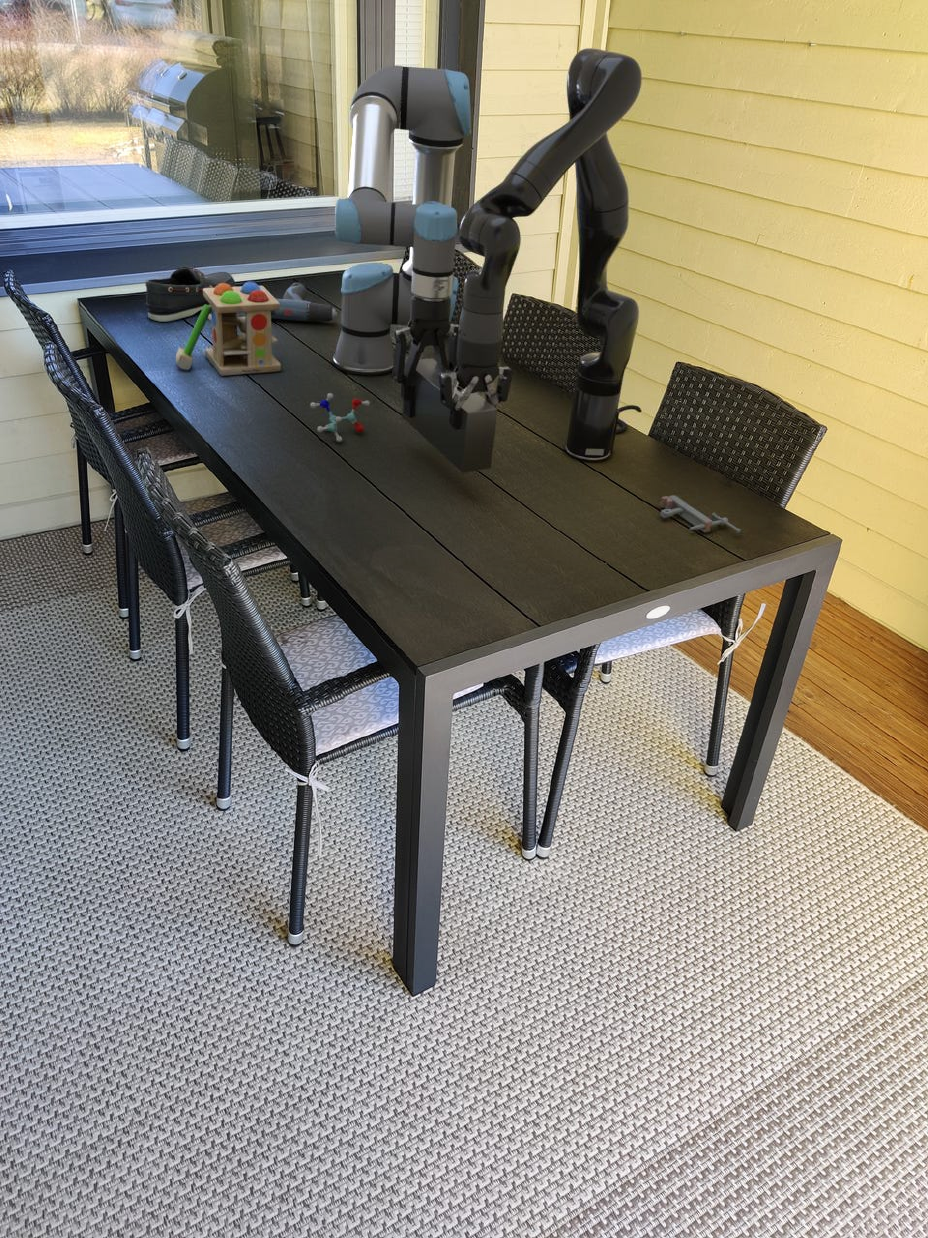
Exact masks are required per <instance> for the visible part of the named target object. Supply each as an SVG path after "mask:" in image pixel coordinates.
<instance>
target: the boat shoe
mask: <svg viewBox="0 0 928 1238" xmlns="http://www.w3.org/2000/svg"><path fill="white" fill-rule="evenodd" d="M221 283H226V284H228V285H230V286H231V287H237V285H236V281H235V279H234V277H233V276H232V274H231V273H229V272H227V271H217V272H213V273H212V272H211V273H207V274H205V273H203V272H202V271H200V270H199V269H198V268H195V267H189V266H186V265H183V266H181V267H178V268H177V269H175V270H174V271H173V272H172V273H171V275H170V276H169V277H165V278H152V279H151V278H150V279H147V280H146V281H145V283H144V285H145V289H146V290H145V291H146V296H145V298H146V302H145V303H144V305H145V306H146V307H147V317H148V319H150V320H152V321H154V322H155V321H156V322H162V323H163V322H173V321H176V320H180V319H183V318H186V317H190V316H193V315H195V314H196V313H198V312H199V311H202V309H203V307H204V305H208V306H210V307H211V305H210V304H209V302H208V301H207V300H206V299H205V297H204V296H203V289H204V288H215V287H216V286H217V285H218V284H221Z"/></svg>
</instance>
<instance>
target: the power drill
mask: <svg viewBox="0 0 928 1238" xmlns="http://www.w3.org/2000/svg"><path fill="white" fill-rule="evenodd" d="M307 295H308V290H307V287H306V285H304V284H303V283H301V282H293V283H292V284H291V285H290V286H289V287H288V288H287V289H286V291H285V292H284V294H283V297H282V298H275V299H276V300H277V301H278V302H279V303H280V310H271V319H274V320H275V319H276V320H283V321H294V322H295V321H297V322H332V321H333V320H334V319H336V318H337V317H338V312H337V311H336V308H334V307H333V306H332V305H331V304H324V303H317V302H313V301H307V300H305V299H306V297H307Z"/></svg>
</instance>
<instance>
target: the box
mask: <svg viewBox="0 0 928 1238" xmlns="http://www.w3.org/2000/svg"><path fill="white" fill-rule="evenodd" d="M405 363H406V360H405ZM440 372H445V373H450V372H449V371H448V370H447V369H445V368H444V367H442V366H441V365H440V364H439V363H437V360H436V359H434V358H432V357H431V358H420V359H419V362H418V365H417V368H416V370H415V374H414V377H413V380H412V384H413V385H414V386H415V391H414V408H413V418H409V417H408V416H407V415H406V414H405V413H404V400H403V399H402V410H401V411H402V412H401V418H402V419H404V421H406V423H408V424H409V425H410V426H411V427H412V428H413V429H414V430H416V431H417V433H419V434H420V435H421V436H422V437H423V438H424V439H425V440H426V441H427V442H428V443H429V444H431V446H433V448H435V449H436V450H437V451H438V452H439V453H440V454H442V455H443V456H444V458H446V459H447V460H448V461H449V462H450V463H451V464H452V465H453V466H454V467H456V469H458V471H460V472H461V473H470V472H471V473H472V472H477V471H483V470H489V469H490V470H491V469H492V460H493V454H494V453H493V452H494V443H495V434H496V426H497V425H496V424H497V416H498V408H497V407H496V408H495V407H494V406H493V405H491V404H490V403H489V402H488V401H487V400H486V398H484V397H483V396H481V395H480V394H478V392H476V393H471V394H470V396H469V398H468V399H467V400H465V402H464V404H463V406H462V408H461V423H460V429H458V430H455V429H454V428H453V427H452V426H451V425H450V423H449V417H450V409H448V408H447V407H446V406H444V405H443V404H442V403H441V401H440V384H439V374H440ZM457 382H458V381H457V379H455V380H454V385H453V386H452V396H453V394H454V388H455V386H456V384H457ZM462 392H464V389H462Z"/></svg>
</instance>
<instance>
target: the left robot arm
mask: <svg viewBox="0 0 928 1238" xmlns="http://www.w3.org/2000/svg"><path fill="white" fill-rule="evenodd" d="M350 102H351V103H350V106H349V123H350V127H351V128H352V130H353V132H352V143H351V155H350V165H349V177H348V178H349V179H348V180H349V181H348V192H347V197H346V198H339V199H337V201H336V203H335V208H334V209H335V210H334V233H335V237H336V239H337V240H338V241H339V242H344V243H345V242H346V243H352V244H356V245H374V246H375V245H376V246H392V247H399V248H400V247H403V248H409V258H408V259H407V261H405V263H403V265H402V268H401V269H402V270H401V271H402V272H394V268H393V266H392V265H391V264H388V263H383V262H366V263H360V264H359V263H358V264H356V265H352V266H351V267H348V268H346V270H345V271H344V272H343V274H342V281H341V288H340V293H341V320H340V321H341V324H340V325H341V326H340V329H341V330H340V336H339V338H338V341H337V344H336V348H335V346H333V348H332V354H333V361H332V362H333V363H332V364H333V366H334V367H335V368H337V369H338V370H339V371H342V372H344V373H347V374H352V375H356V376H380V375H381V376H382V375H386V374H389V373H391V372H392V374H391V377H392V379H393V380H394V381H395V382H396V383H397V384H400V398H401V399H402V401H403V400H404V413H405V414H406V415H407V416H408V417H409V418H413V408H414V391H415V386H414V385H413V384H412V380H413V377H414V374H415V370H416V368H417V365H418V362H419V360H420V359H421V356H422V354H423V353H424V352H425V348H427V347H430V346H432V347H433V350H434V355H435V360H436V362H437V363H439V364H440V365H441V366H442V367H444V368H445V369H447V370H448V371H449V372H454V370H455V368H456V366H457V346H458V333H459V332H458V329H459V324H457V323H455V322H454V323H453V324H452V323H451V322H452V320H453V319H452V318H453V315H454V311H455V307H456V302H457V295H458V290H459V279H458V277H456V276H454V264H455V253H456V245H457V244H456V243H457V233H458V230H459V228H458V212H457V210H456V209H455V208H454V207H452V201H453V186H454V185H453V184H454V173H455V161H456V160H455V158H456V152H457V151H458V150H459V149H460V148H461V147H463V144H464V137H468V136H470V135H471V134H472V119H471V118H472V117H471V116H472V114H471V93H470V82H469V78H468V76H467V75H466V74H465V73H464V72H461V71H456V70H450V69H448V68H432V67H419V66H418V67H417V66H403V65H389V66H386V67H382V68H379V69H378V70H376V71H375V72H373V73H372V74H370V75H369V76H368V77H367V78H365V80H364V81H363V82H362V83H361V84H360V85H359V87H358V88H357V90H356V91H355V92H354V94H353V97H352V99H351V101H350ZM395 130H402V131H408V141H409V143H411V145H412V146H413V147H414V164H413V165H414V167H413V185H412V203H403V202H401V203H400V202H390V201H389V202H388V200H389V197H388V196H389V182H390V181H389V180H390V162H391V161H390V160H391V145H392V135H393V133H394V132H395ZM391 325H394V326H406V327H403V328H401V329H400V328H399V327H398V328H395V329H394V330H393V333H394V338H395V345H394V343H393V341H392V337H391V336H392V335H391ZM409 336H411V337H412V338H410V339H409ZM445 338H448V356H447V352H446V344H445V340H444V339H445ZM394 346H395V347H394ZM409 346H410V348H409ZM408 348H409V351H408V350H407V349H408ZM407 351H408V355H407ZM405 361H406V363H405Z"/></svg>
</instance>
